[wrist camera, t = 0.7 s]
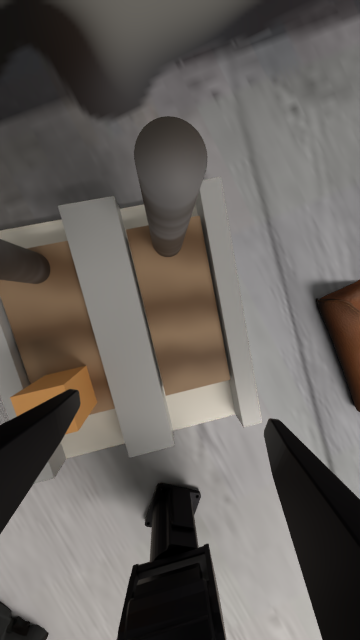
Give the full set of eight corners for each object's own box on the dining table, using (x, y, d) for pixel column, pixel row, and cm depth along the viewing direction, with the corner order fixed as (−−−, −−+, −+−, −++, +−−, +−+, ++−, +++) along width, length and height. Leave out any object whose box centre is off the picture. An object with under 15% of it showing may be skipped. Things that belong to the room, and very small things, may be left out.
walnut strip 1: (118, 401, 22) (55, 539, 9) (53, 417, 22) (-108, 586, 9) (74, 245, 20) (-91, 143, 7) (0, 259, 19) (-326, 178, 6)
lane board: (249, 406, 25) (262, 422, 22) (51, 458, 23) (32, 484, 20) (212, 195, 21) (220, 176, 18) (-25, 239, 20) (-63, 227, 16)
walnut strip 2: (226, 374, 23) (303, 467, 10) (165, 389, 22) (167, 507, 10) (197, 221, 21) (250, 92, 8) (128, 234, 20) (65, 120, 7)
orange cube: (97, 402, 20) (78, 430, 16) (57, 412, 20) (26, 444, 16) (86, 365, 20) (63, 384, 15) (45, 375, 20) (9, 397, 15)
